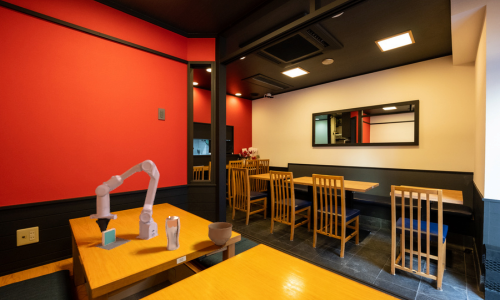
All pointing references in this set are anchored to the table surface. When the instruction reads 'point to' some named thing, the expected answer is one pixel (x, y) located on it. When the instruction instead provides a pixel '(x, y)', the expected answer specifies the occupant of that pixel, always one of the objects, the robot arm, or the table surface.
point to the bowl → (220, 232)
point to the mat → (113, 244)
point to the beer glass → (172, 232)
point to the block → (108, 236)
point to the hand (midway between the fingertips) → (103, 232)
